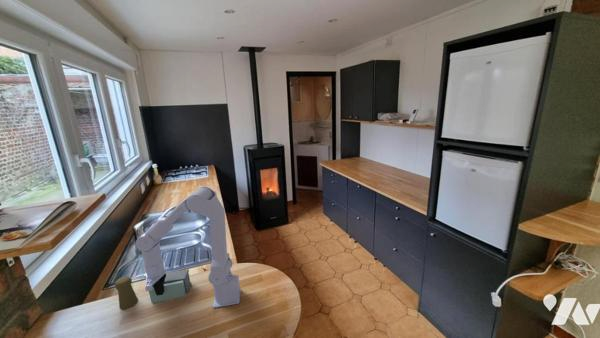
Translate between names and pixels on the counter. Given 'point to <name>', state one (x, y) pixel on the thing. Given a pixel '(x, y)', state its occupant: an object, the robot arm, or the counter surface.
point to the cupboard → (179, 278)
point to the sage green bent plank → (169, 292)
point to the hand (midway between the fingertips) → (160, 293)
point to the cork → (125, 293)
